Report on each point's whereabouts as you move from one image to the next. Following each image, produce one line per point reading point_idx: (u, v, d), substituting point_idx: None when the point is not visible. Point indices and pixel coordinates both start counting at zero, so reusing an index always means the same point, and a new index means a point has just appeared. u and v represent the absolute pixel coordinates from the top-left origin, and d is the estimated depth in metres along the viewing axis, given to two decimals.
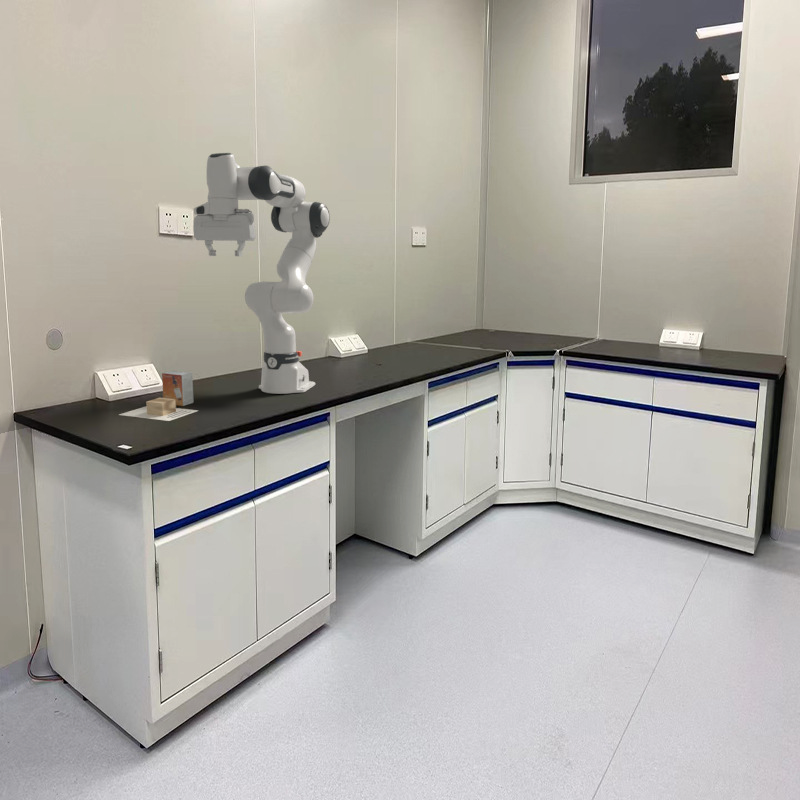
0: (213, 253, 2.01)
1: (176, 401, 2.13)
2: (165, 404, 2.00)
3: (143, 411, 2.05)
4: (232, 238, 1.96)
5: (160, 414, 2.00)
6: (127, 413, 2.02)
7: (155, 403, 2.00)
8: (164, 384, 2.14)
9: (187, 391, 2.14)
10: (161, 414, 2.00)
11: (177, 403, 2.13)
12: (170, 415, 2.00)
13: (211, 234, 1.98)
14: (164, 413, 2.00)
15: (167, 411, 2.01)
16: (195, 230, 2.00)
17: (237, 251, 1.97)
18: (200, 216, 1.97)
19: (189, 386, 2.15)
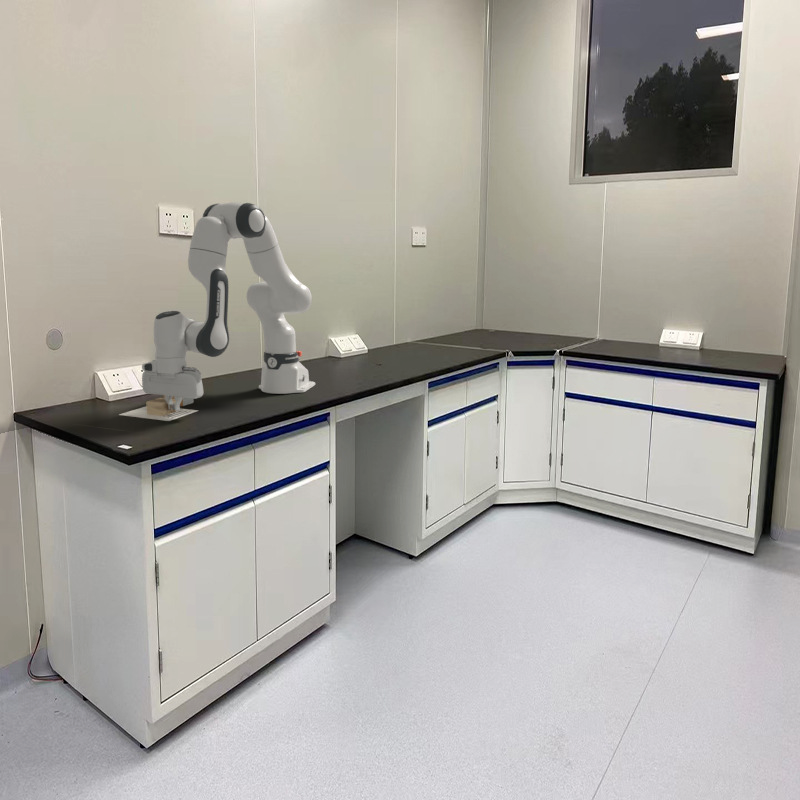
0: None
1: None
2: (165, 404, 2.00)
3: (143, 411, 2.05)
4: (180, 395, 1.97)
5: (160, 414, 2.00)
6: (127, 413, 2.02)
7: (155, 403, 2.00)
8: None
9: None
10: (161, 414, 2.00)
11: None
12: (170, 415, 2.00)
13: (159, 389, 1.99)
14: (163, 413, 2.00)
15: (167, 411, 2.01)
16: (144, 384, 2.01)
17: (174, 406, 2.00)
18: (148, 372, 1.98)
19: None
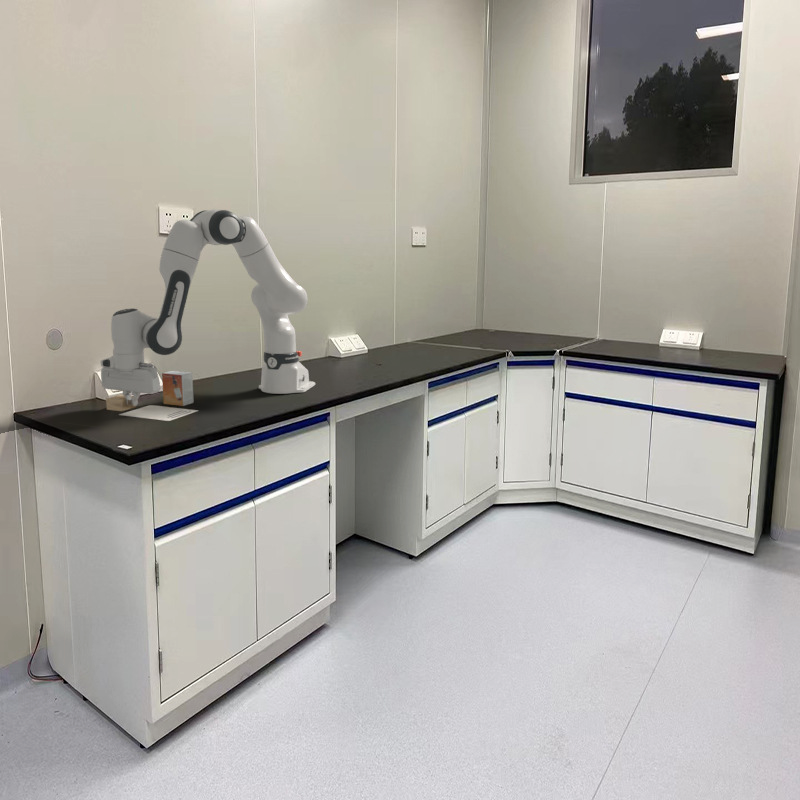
0: None
1: (176, 401, 2.13)
2: (124, 401, 2.05)
3: (143, 411, 2.05)
4: (137, 390, 2.02)
5: None
6: (127, 413, 2.02)
7: (114, 400, 2.05)
8: (164, 384, 2.14)
9: (187, 391, 2.14)
10: None
11: (177, 403, 2.13)
12: (170, 415, 2.00)
13: (117, 384, 2.05)
14: (123, 410, 2.05)
15: (126, 407, 2.07)
16: (103, 380, 2.06)
17: (132, 401, 2.05)
18: (107, 368, 2.04)
19: (189, 386, 2.15)
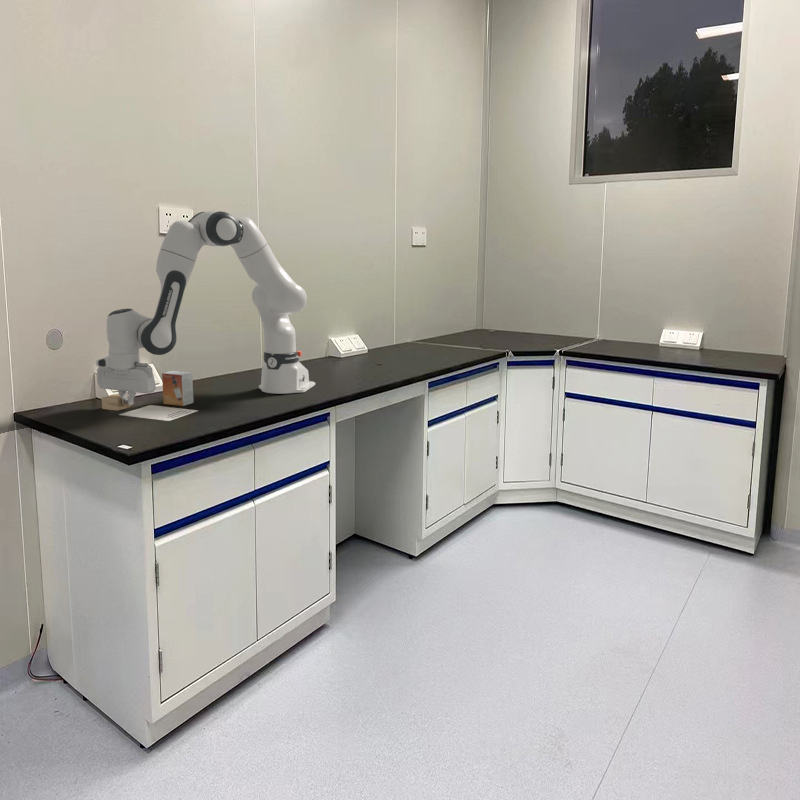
0: None
1: (176, 401, 2.13)
2: (119, 400, 2.06)
3: (143, 411, 2.05)
4: (132, 390, 2.03)
5: None
6: (127, 413, 2.02)
7: (110, 399, 2.06)
8: (164, 384, 2.14)
9: (187, 391, 2.14)
10: (116, 410, 2.06)
11: (177, 403, 2.13)
12: (170, 415, 2.00)
13: (113, 384, 2.05)
14: (118, 409, 2.06)
15: (122, 407, 2.07)
16: (98, 380, 2.07)
17: (128, 400, 2.06)
18: (102, 368, 2.04)
19: (189, 386, 2.15)
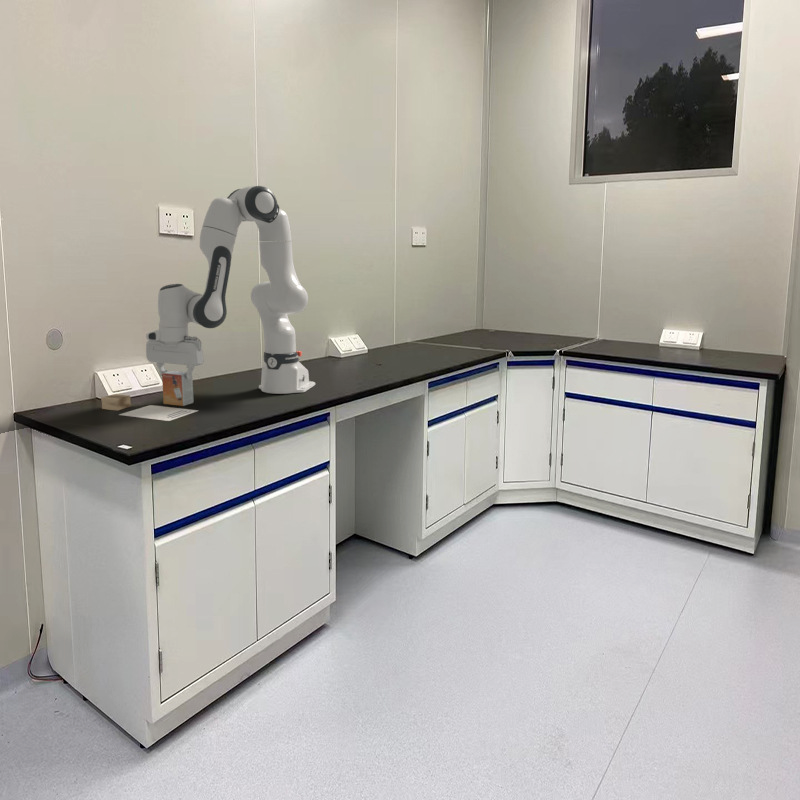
0: None
1: (176, 401, 2.13)
2: (119, 400, 2.06)
3: (143, 411, 2.05)
4: (181, 363, 2.10)
5: None
6: (127, 413, 2.02)
7: (110, 399, 2.06)
8: (164, 384, 2.14)
9: (187, 391, 2.14)
10: None
11: (177, 403, 2.13)
12: (170, 415, 2.00)
13: (162, 357, 2.12)
14: (118, 409, 2.06)
15: (122, 407, 2.07)
16: (148, 353, 2.14)
17: (186, 374, 2.11)
18: (152, 341, 2.11)
19: (189, 386, 2.15)
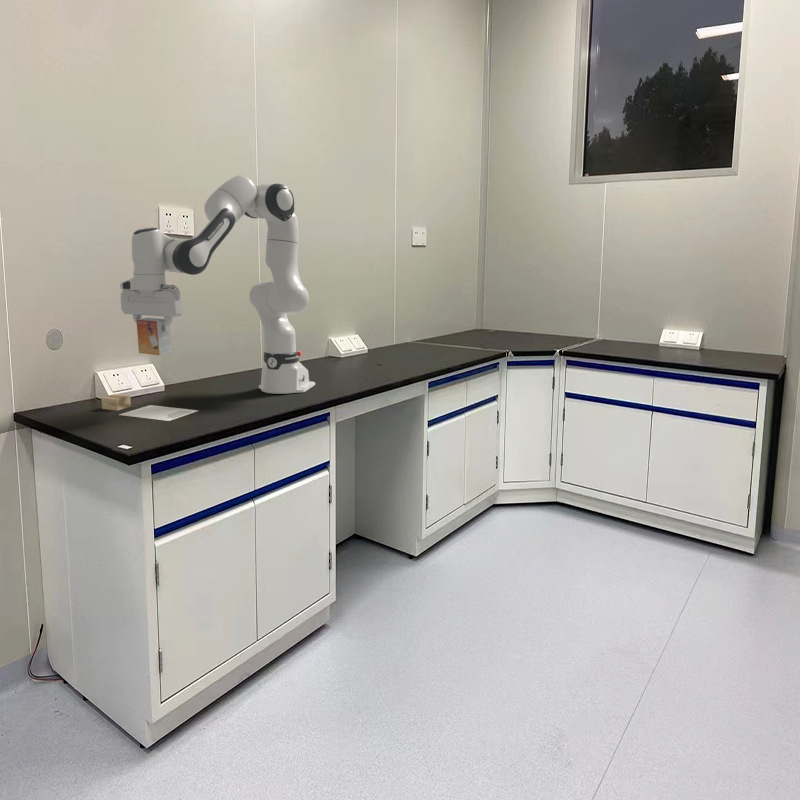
0: None
1: (152, 350, 1.97)
2: (119, 400, 2.06)
3: (143, 411, 2.05)
4: (159, 314, 1.94)
5: None
6: (127, 413, 2.02)
7: (110, 399, 2.06)
8: (139, 331, 1.97)
9: (164, 339, 1.97)
10: None
11: (153, 352, 1.97)
12: (170, 415, 2.00)
13: (138, 309, 1.96)
14: (118, 409, 2.06)
15: (122, 407, 2.07)
16: (122, 304, 1.98)
17: (164, 326, 1.95)
18: (127, 291, 1.95)
19: (166, 334, 1.98)
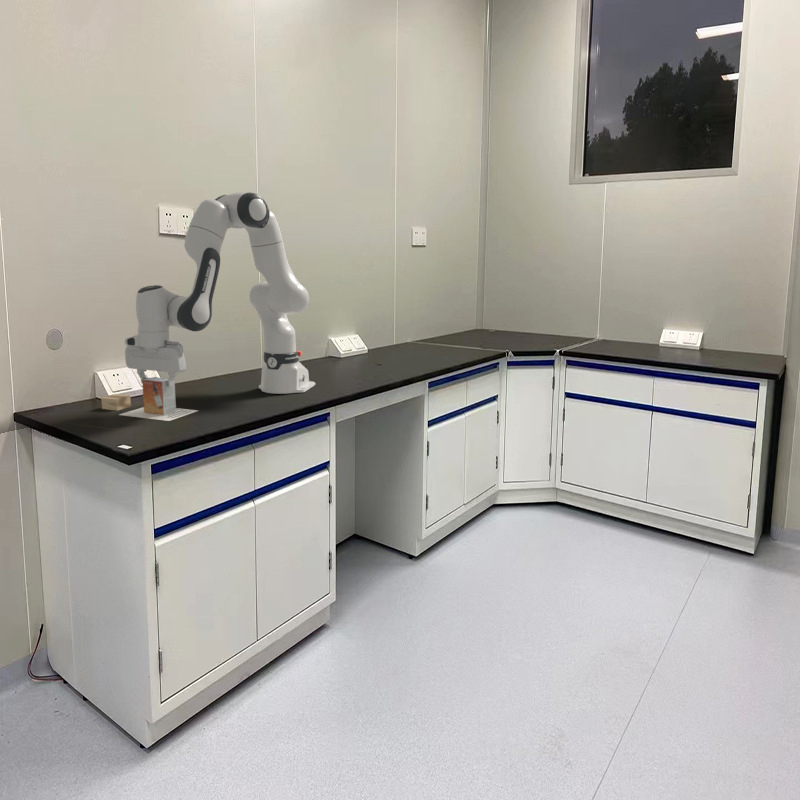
0: None
1: (157, 409, 2.01)
2: (119, 400, 2.06)
3: (143, 411, 2.05)
4: (162, 369, 1.98)
5: None
6: (127, 413, 2.02)
7: (110, 399, 2.06)
8: (144, 391, 2.01)
9: (169, 399, 2.02)
10: None
11: (158, 411, 2.01)
12: (170, 415, 2.00)
13: (142, 364, 2.00)
14: (118, 409, 2.06)
15: (122, 407, 2.07)
16: (127, 359, 2.01)
17: (168, 381, 1.99)
18: (131, 347, 1.99)
19: (171, 394, 2.02)
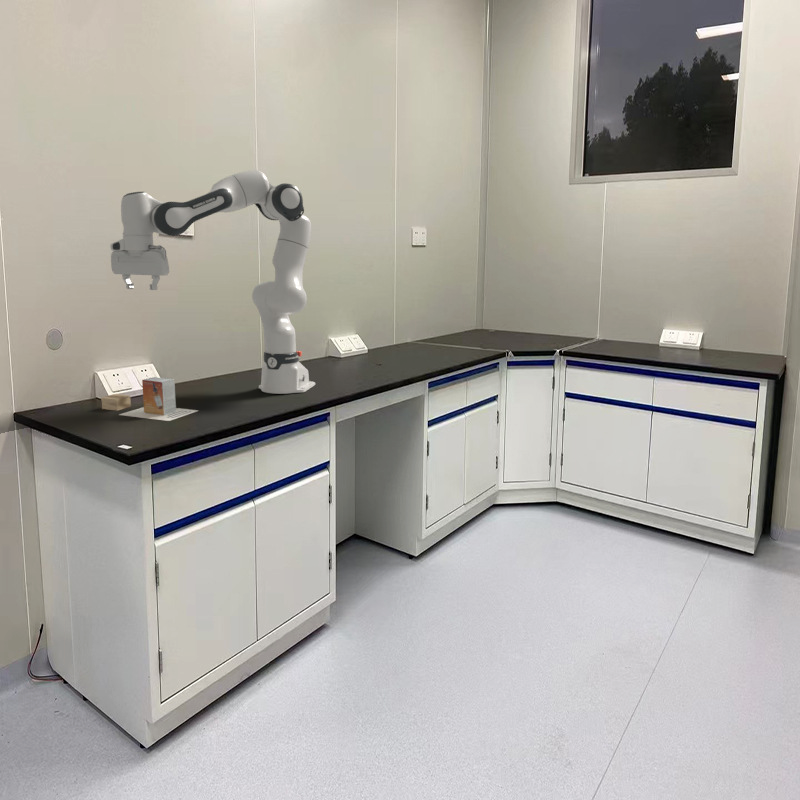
0: (130, 286, 2.11)
1: (157, 410, 2.01)
2: (119, 400, 2.06)
3: (143, 411, 2.05)
4: (146, 273, 2.06)
5: None
6: (127, 413, 2.02)
7: (110, 399, 2.06)
8: (144, 391, 2.01)
9: (169, 399, 2.02)
10: (116, 410, 2.06)
11: (158, 412, 2.01)
12: (170, 415, 2.00)
13: (127, 268, 2.08)
14: (118, 409, 2.06)
15: (122, 407, 2.07)
16: (113, 265, 2.09)
17: (152, 285, 2.07)
18: (116, 252, 2.07)
19: (171, 394, 2.02)
